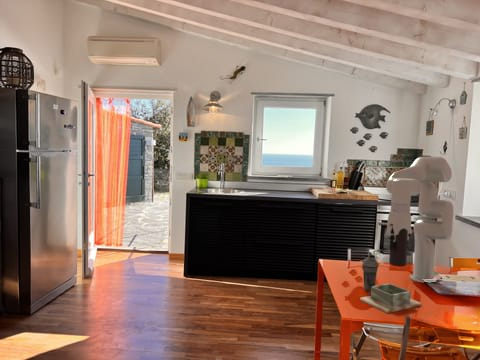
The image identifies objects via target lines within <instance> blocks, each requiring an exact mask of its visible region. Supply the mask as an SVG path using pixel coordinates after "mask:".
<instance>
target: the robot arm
mask: <svg viewBox="0 0 480 360" xmlns="http://www.w3.org/2000/svg"><path fill="white" fill-rule="evenodd" d="M452 175H453V173H452V168H451V166H450V164H449V163H448V161H447V160H446V159H445V158H444V157H442V156H419V157H417V158H416V159H414V161H413V162H412V163H411V165H410V166H409V167H406V168H404V169H401V170H398V171H395V172H393V173H392V174H391V175H390V177H389V178H388V179H387V182H386V184H385V187H386V188H385V190H386V191H387V192H388V194H390V195H391V204H390V211H389V213H388V217H387V222H386V223H387V225H386V231H385V236H386V237H387V238H388V241H389V251H390V250H392V249H394V251H396V249H397V242H396V236H397V235H398V234H399V231H400V230H401V229H403V228H405V229H407V231H408V238H407V250H409V249H408V247H409V245H408V244H409V241H410V237H411V236H412V233H414V254H413V257H414V258H413V273H412V274H410V275H409V278H410V279H411V280H412V281H415V282H418V283H421V284H422V283H423V284H425V283H424V282H423V281H422V280H421V279H433V278H434V277H435V276H438V275H440V272H439V271H438V270H436V271H435V256H436V246H435V244H434V242H433V241H432V240H437V241H444V242H445V241H449V240H451V238H452V233H453V223H454V205H453V203H452V202H451V201H449V200H445V199H438V198H439V197H438V195H439V189H438V188H437V186H436V184H435V183H448V182H449V181H451V179H452V177H453V176H452ZM418 195H419V198H418V214H419V216H421V217H425V218H431V219H418V220H416V221H415V222H414V223H413V229H412V215H411V197H416V196H418ZM434 219H441V221H440V220H434ZM392 231H394V234H392ZM392 235H395V236H394V237H393V236H392Z"/></svg>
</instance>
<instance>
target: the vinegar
mask: <svg viewBox="0 0 480 360" xmlns="http://www.w3.org/2000/svg"><path fill="white" fill-rule="evenodd" d="M392 234H394V231H392ZM392 236H393V237H394V236H395V235H392ZM407 238H408V231H407V229H405V228H403V229H401V230H400V231H399V234H398V235H397V236H396V242H397V249H396V251H394V249H392V250H390V249H389V258H388V259H389V261H388V263H389V264H390V266H393V267H399V268H400V267H406V266H407V260H408V259H407V257H408V255H407V254H408V249H407V241H408V240H407Z"/></svg>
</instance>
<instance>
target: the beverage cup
mask: <svg viewBox="0 0 480 360" xmlns="http://www.w3.org/2000/svg"><path fill="white" fill-rule="evenodd" d="M367 255H368V256H367V257H366V258H364V259H363V261H362V264H361V265H362V273H363V289H364V290H365V291H368V292H371V287H372V286H376V280H377V272H378V269H379V264H378V260H376V259H375V258H374V257H371V256H370V247H368V248H367Z"/></svg>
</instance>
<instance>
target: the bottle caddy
mask: <svg viewBox="0 0 480 360" xmlns="http://www.w3.org/2000/svg"><path fill="white" fill-rule="evenodd" d="M359 301H361V302H363V303H366V304H368V305H370V306H371V307H374V308H376V309H378V310H380V311H382V312H384V313H386V314H390V313H393V312H398V311H401V310H402V311H404V310H406V309H411V308H415V307H420V306H422V303H421V302H419V301H417V300H415V299H412V298H411V291H410V290H409V289H406V288H403V287H400V286H397V285H396V284H393V283H385V284H384V283H383V284H378V285H375V286H372V287H371V291H370V295H368V296H363V297H359Z"/></svg>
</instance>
